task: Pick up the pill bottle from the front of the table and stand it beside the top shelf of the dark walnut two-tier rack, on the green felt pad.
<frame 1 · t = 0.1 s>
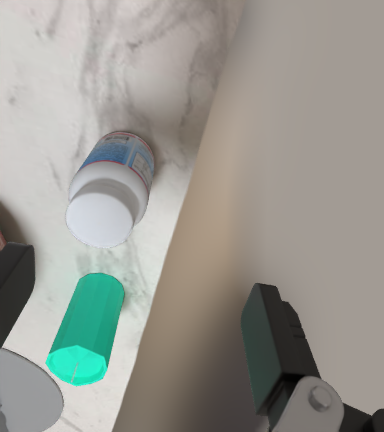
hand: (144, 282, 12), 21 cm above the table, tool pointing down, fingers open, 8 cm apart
candle: (100, 289, 41), on the table
pill bottle: (125, 160, 32), on the table
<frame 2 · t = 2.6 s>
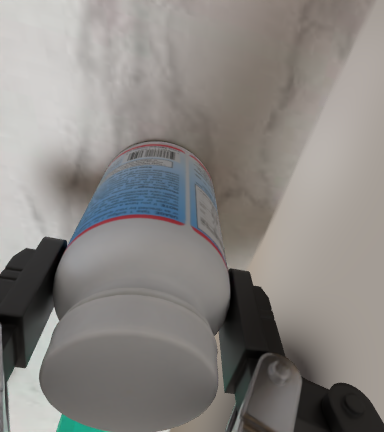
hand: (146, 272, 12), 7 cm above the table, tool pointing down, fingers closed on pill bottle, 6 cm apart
candle: (111, 377, 27), on the table
pill bottle: (159, 190, 18), on the table, touching gripper
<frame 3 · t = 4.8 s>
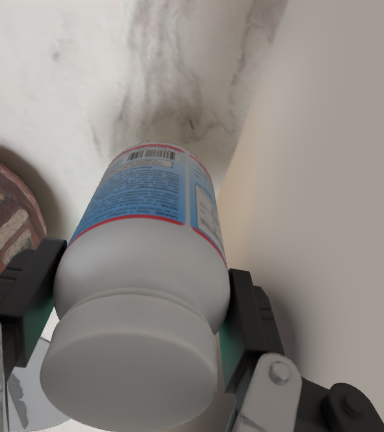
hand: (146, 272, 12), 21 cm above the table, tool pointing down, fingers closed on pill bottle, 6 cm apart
pill bottle: (159, 190, 18), point 14 cm above the table, touching gripper
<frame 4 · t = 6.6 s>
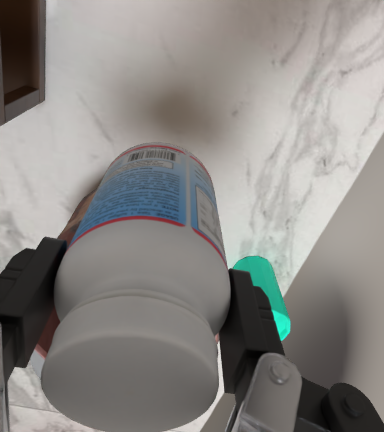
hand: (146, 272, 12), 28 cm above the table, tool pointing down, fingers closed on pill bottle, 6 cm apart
candle: (251, 270, 49), on the table
pill bottle: (160, 191, 18), point 21 cm above the table, touching gripper
pottery: (144, 221, 44), on the table
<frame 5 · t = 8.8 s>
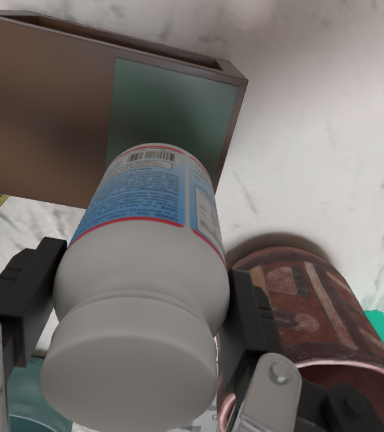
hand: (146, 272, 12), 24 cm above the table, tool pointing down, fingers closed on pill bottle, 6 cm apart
plate: (206, 407, 60), on the table
flower pot: (38, 372, 54), on the table
candle: (366, 323, 49), on the table
pill bottle: (159, 191, 18), point 17 cm above the table, touching gripper
pottery: (270, 281, 45), on the table
rack: (124, 105, 32), on the table
when the fingers open (17 cm above the table, at t = 10.8 s): pill bottle stays where it is, resting on rack.
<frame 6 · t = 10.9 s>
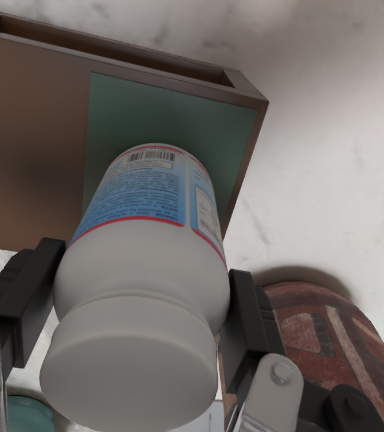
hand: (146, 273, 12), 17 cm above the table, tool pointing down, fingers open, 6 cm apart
flower pot: (22, 410, 49), on the table
pill bottle: (159, 191, 18), point 11 cm above the table, touching rack
pottery: (282, 317, 39), on the table
rack: (112, 122, 27), on the table
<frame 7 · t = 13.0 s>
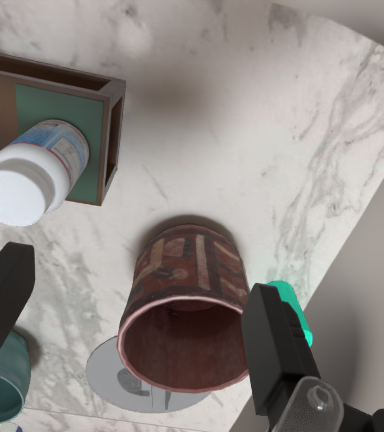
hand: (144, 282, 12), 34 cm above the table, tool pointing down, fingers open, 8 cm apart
plate: (153, 374, 70), on the table
water bottle: (4, 428, 79), on the table
flower pot: (3, 342, 63), on the table
candle: (275, 292, 59), on the table
pill bottle: (61, 148, 33), point 11 cm above the table, touching rack
pottery: (188, 256, 54), on the table
rack: (50, 114, 42), on the table
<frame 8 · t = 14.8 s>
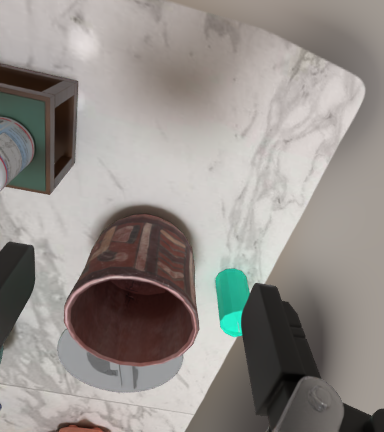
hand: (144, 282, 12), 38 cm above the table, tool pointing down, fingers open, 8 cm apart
plate: (121, 354, 74), on the table
candle: (230, 279, 63), on the table
pill bottle: (10, 142, 37), point 11 cm above the table, touching rack
pottery: (146, 244, 58), on the table
rack: (10, 110, 46), on the table
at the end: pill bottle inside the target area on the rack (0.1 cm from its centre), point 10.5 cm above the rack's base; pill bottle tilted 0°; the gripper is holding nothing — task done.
